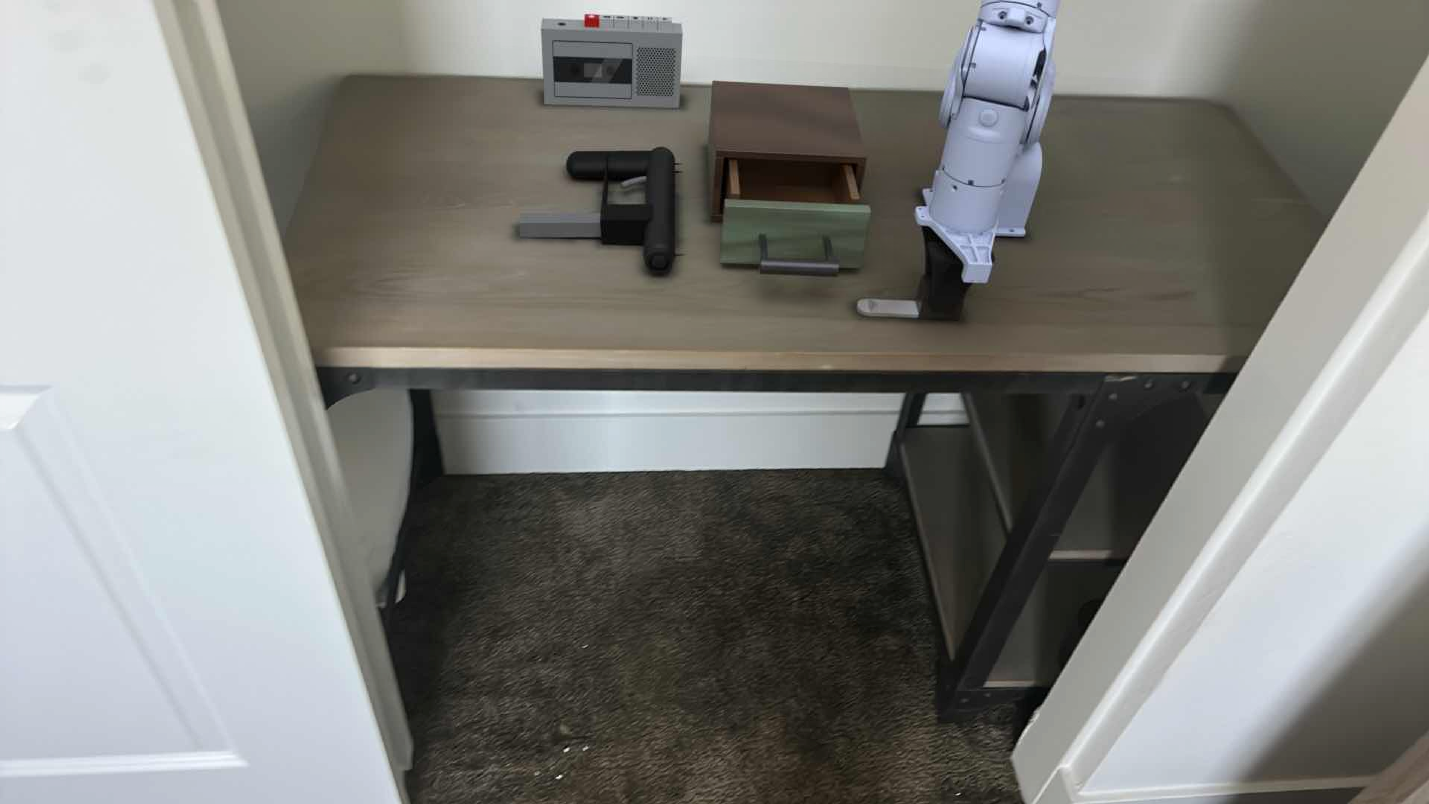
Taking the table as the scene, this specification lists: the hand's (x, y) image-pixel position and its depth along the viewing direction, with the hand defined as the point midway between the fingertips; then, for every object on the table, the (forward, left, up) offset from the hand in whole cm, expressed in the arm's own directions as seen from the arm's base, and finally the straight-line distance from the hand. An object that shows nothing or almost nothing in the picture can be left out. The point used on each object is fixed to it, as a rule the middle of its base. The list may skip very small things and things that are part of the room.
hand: (939, 299), depth 95 cm
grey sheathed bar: (+3, 0, -1) cm, 3 cm away
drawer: (+13, -9, 0) cm, 16 cm away
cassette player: (+32, -38, -2) cm, 50 cm away
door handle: (+31, -13, -2) cm, 34 cm away
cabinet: (+13, -21, -1) cm, 25 cm away
